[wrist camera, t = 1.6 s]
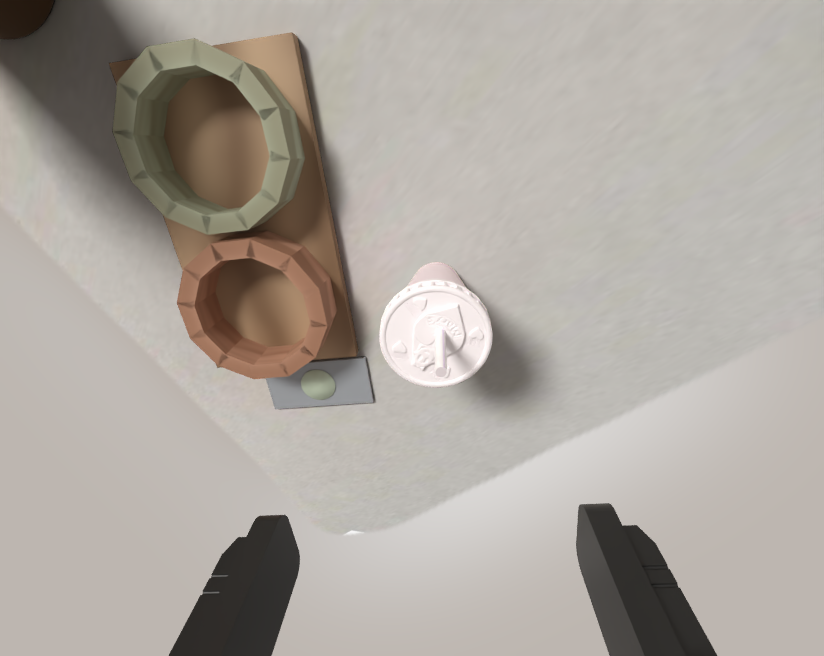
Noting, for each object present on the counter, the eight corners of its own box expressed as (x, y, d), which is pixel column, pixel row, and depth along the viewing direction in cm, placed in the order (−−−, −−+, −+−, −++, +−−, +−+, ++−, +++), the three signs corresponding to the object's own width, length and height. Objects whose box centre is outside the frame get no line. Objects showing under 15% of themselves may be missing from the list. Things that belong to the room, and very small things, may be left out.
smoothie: (494, 271, 31) (535, 360, 18) (450, 337, 33) (457, 457, 20) (420, 228, 30) (407, 290, 17) (380, 299, 32) (342, 401, 19)
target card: (365, 356, 34) (364, 358, 34) (373, 400, 36) (373, 403, 36) (263, 364, 35) (261, 367, 35) (276, 407, 37) (274, 409, 36)
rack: (297, 36, 25) (273, 17, 22) (358, 350, 34) (348, 375, 30) (119, 65, 26) (69, 53, 23) (223, 361, 35) (198, 386, 32)
